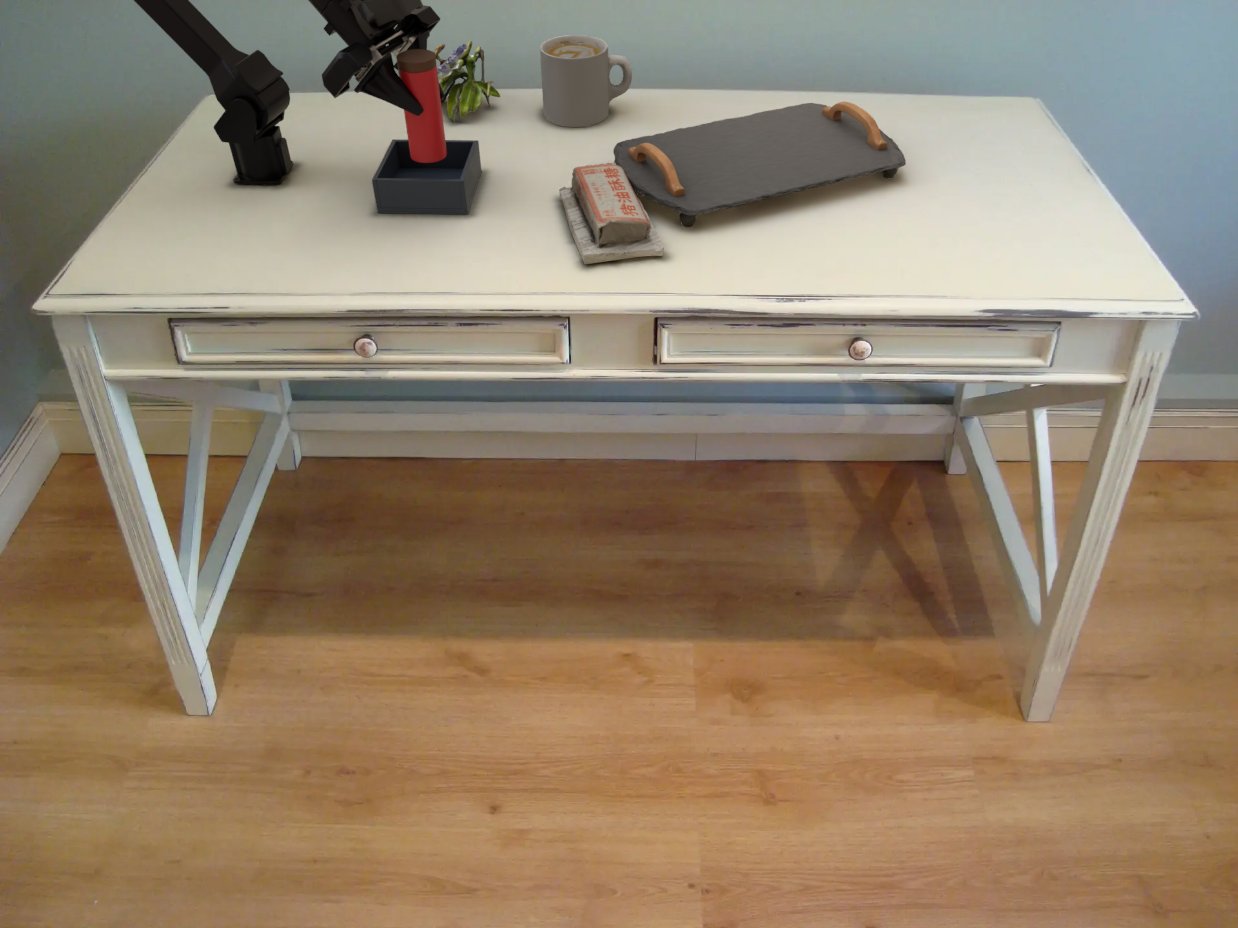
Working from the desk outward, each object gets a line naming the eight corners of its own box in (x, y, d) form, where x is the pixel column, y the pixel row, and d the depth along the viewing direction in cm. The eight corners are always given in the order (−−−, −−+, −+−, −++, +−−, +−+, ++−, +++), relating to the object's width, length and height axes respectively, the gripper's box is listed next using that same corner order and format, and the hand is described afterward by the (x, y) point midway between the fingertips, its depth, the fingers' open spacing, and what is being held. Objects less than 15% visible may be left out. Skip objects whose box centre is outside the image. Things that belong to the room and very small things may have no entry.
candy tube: (407, 162, 128) (392, 62, 120) (414, 147, 132) (401, 48, 124) (443, 163, 128) (431, 63, 120) (449, 148, 132) (438, 49, 123)
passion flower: (446, 137, 162) (435, 60, 161) (512, 126, 160) (501, 47, 159) (422, 122, 151) (410, 39, 150) (493, 110, 149) (481, 25, 148)
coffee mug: (541, 127, 152) (537, 58, 145) (546, 100, 159) (542, 34, 152) (631, 127, 151) (631, 59, 145) (632, 101, 159) (632, 35, 152)
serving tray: (668, 240, 126) (669, 193, 122) (592, 165, 142) (591, 122, 138) (924, 178, 138) (933, 133, 134) (827, 115, 154) (833, 74, 150)
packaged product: (556, 164, 131) (632, 156, 133) (558, 198, 134) (631, 191, 136) (581, 230, 118) (665, 221, 119) (583, 267, 121) (664, 258, 123)
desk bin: (377, 213, 132) (371, 180, 129) (397, 171, 141) (392, 139, 138) (467, 214, 131) (463, 181, 128) (481, 172, 140) (478, 140, 137)
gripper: (324, -23, 109) (426, 95, 113) (416, -67, 122) (505, 40, 126) (280, 42, 117) (377, 150, 121) (371, -6, 130) (456, 94, 134)
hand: (431, 106), depth 125 cm, fingers closed on candy tube, 4 cm apart
